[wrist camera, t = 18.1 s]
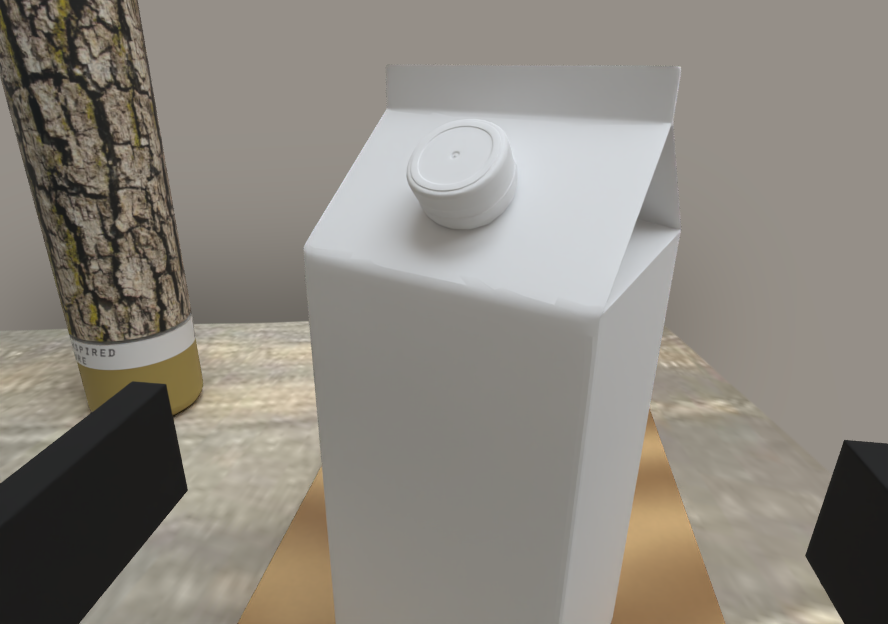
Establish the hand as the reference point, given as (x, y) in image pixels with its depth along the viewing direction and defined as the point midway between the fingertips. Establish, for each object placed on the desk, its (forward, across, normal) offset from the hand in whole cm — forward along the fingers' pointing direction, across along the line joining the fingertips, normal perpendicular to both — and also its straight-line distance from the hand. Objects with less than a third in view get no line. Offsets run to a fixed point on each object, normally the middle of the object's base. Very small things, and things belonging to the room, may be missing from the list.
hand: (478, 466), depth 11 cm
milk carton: (+5, 0, -12) cm, 13 cm away
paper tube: (+20, -23, -13) cm, 33 cm away
